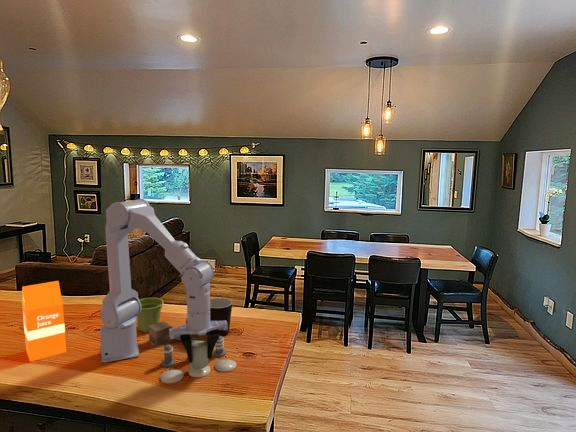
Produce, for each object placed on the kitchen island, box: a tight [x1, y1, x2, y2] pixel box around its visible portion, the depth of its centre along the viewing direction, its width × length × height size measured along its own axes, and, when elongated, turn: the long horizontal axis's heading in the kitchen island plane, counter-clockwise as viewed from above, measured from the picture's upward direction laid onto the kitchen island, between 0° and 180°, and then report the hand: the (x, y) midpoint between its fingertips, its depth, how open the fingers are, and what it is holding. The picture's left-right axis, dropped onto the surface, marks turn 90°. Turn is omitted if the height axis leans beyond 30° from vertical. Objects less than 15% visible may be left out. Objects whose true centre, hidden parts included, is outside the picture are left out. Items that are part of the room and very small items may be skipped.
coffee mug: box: [210, 297, 233, 337], centre depth 126 cm, size 12×9×10 cm
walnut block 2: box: [185, 317, 206, 340], centre depth 123 cm, size 5×5×5 cm
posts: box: [161, 336, 227, 368], centre depth 109 cm, size 18×4×5 cm, turn 114°
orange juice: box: [21, 280, 67, 363], centre depth 110 cm, size 8×9×20 cm
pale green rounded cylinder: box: [190, 340, 209, 369], centre depth 102 cm, size 4×4×6 cm
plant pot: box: [136, 297, 164, 333], centre depth 126 cm, size 9×9×9 cm
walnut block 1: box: [148, 320, 173, 348], centre depth 118 cm, size 5×5×5 cm
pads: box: [159, 358, 237, 384], centre depth 103 cm, size 20×6×1 cm, turn 114°
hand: (199, 359), depth 102 cm, fingers closed on pale green rounded cylinder, 4 cm apart
